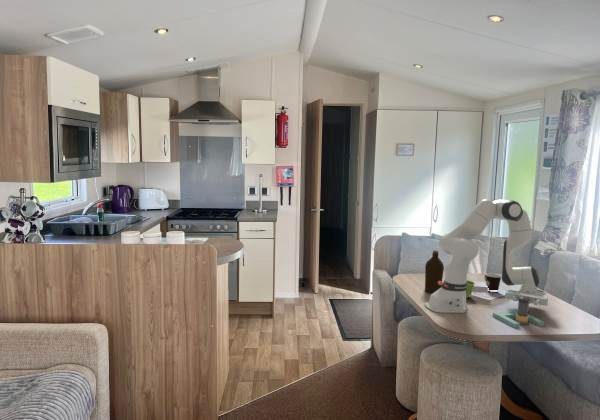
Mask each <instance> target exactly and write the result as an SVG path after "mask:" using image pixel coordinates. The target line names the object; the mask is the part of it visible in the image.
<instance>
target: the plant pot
mask: <svg viewBox="0 0 600 420" xmlns="http://www.w3.org/2000/svg"><path fill="white" fill-rule="evenodd" d="M466 283H467V290H466V299H467V298H468V296H469V295H471V296H472V294H473V289H474V286H475V284H476V283H475V282H474V281H472V280H466ZM468 299H469V298H468Z"/></svg>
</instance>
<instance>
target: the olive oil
mask: <svg viewBox="0 0 600 420" xmlns="http://www.w3.org/2000/svg"><path fill="white" fill-rule="evenodd" d="M444 269H445V267H444V263H443V262H442V260H441V259H440V258H439V251H438V250H434V249H433V251H432V256H431V258H429V259H428V260H427V261H426V262H425V269H424V271H425V272H424V274H425V275H424V276H425V277H424V278H425V279H424V291H425V293H429V294H433V293H434V292H436V291H437V290H438V289H440V288H441V286H442V285H439V284H438V281H441V282H442V283H443V277H444Z"/></svg>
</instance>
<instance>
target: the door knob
mask: <svg viewBox="0 0 600 420" xmlns="http://www.w3.org/2000/svg"><path fill="white" fill-rule="evenodd" d="M517 299H519V301H517V302H518V305H517V311H518V313H517V314H516V318H515V320H514V321H516V322H518V323H520V326H529V325H530V323H529V322H530V321H528V314H529V305H530V304H529V301H531V298H530V297H527V296H517Z"/></svg>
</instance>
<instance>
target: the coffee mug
mask: <svg viewBox="0 0 600 420" xmlns="http://www.w3.org/2000/svg"><path fill="white" fill-rule="evenodd" d="M484 280H485V282H486V284H485V285H487V286H488V288H489V290H498V291H499V290H500V289H499V288H500V283H501V281H502V279H501V275H500V274H496V273H486V274H484Z"/></svg>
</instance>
